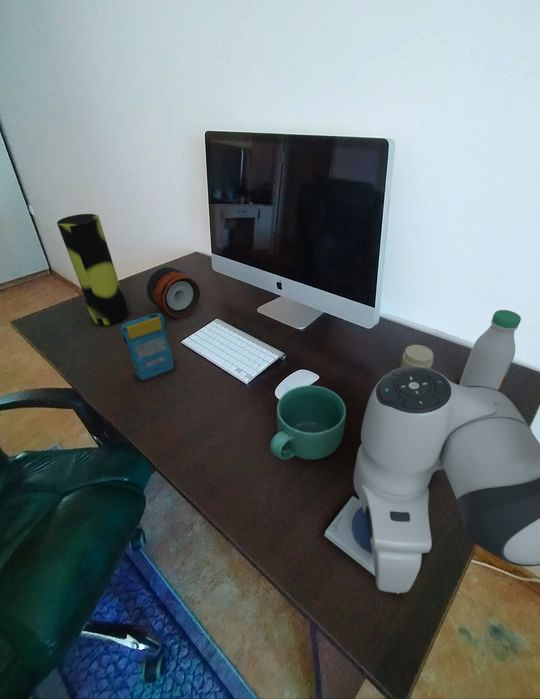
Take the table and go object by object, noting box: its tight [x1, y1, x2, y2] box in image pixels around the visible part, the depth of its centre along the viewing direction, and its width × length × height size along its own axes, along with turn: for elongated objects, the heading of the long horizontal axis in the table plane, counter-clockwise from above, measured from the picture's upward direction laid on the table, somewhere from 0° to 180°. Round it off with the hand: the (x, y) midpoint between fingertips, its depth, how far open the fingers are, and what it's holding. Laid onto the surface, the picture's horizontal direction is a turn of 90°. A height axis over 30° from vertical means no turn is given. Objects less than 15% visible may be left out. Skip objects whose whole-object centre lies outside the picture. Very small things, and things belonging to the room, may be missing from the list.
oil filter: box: [146, 266, 201, 318], centre depth 114 cm, size 13×12×13 cm
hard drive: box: [323, 495, 400, 595], centre depth 56 cm, size 2×8×12 cm
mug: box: [269, 385, 347, 461], centre depth 69 cm, size 17×13×10 cm
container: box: [56, 213, 129, 326], centre depth 106 cm, size 11×11×30 cm
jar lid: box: [352, 507, 372, 553], centre depth 55 cm, size 7×7×2 cm
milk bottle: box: [458, 309, 522, 391], centre depth 77 cm, size 8×8×20 cm
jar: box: [399, 344, 434, 369], centre depth 81 cm, size 6×6×10 cm
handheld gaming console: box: [119, 312, 175, 381], centre depth 88 cm, size 10×4×15 cm, turn 123°
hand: (374, 532), depth 55 cm, fingers closed on jar lid, 7 cm apart
